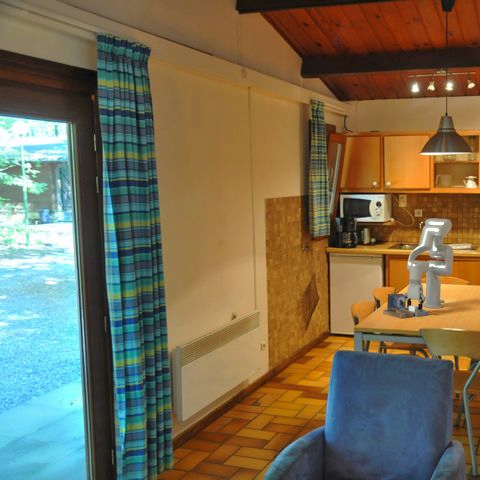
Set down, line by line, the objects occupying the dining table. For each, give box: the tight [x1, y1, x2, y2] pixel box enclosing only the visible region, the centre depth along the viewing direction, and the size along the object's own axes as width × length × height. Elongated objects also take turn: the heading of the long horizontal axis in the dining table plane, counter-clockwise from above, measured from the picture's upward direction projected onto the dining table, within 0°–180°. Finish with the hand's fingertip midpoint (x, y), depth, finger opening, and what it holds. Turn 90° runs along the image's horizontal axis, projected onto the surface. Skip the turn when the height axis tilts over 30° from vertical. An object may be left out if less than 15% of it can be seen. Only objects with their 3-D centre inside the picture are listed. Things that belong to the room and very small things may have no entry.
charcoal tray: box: [401, 307, 430, 318], centre depth 453 cm, size 11×15×3 cm
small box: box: [386, 293, 407, 310], centre depth 466 cm, size 11×6×10 cm, turn 101°
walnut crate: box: [382, 308, 414, 320], centre depth 449 cm, size 11×16×3 cm
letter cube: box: [408, 304, 420, 312], centre depth 453 cm, size 5×5×5 cm
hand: (414, 308), depth 453 cm, fingers open, 9 cm apart
